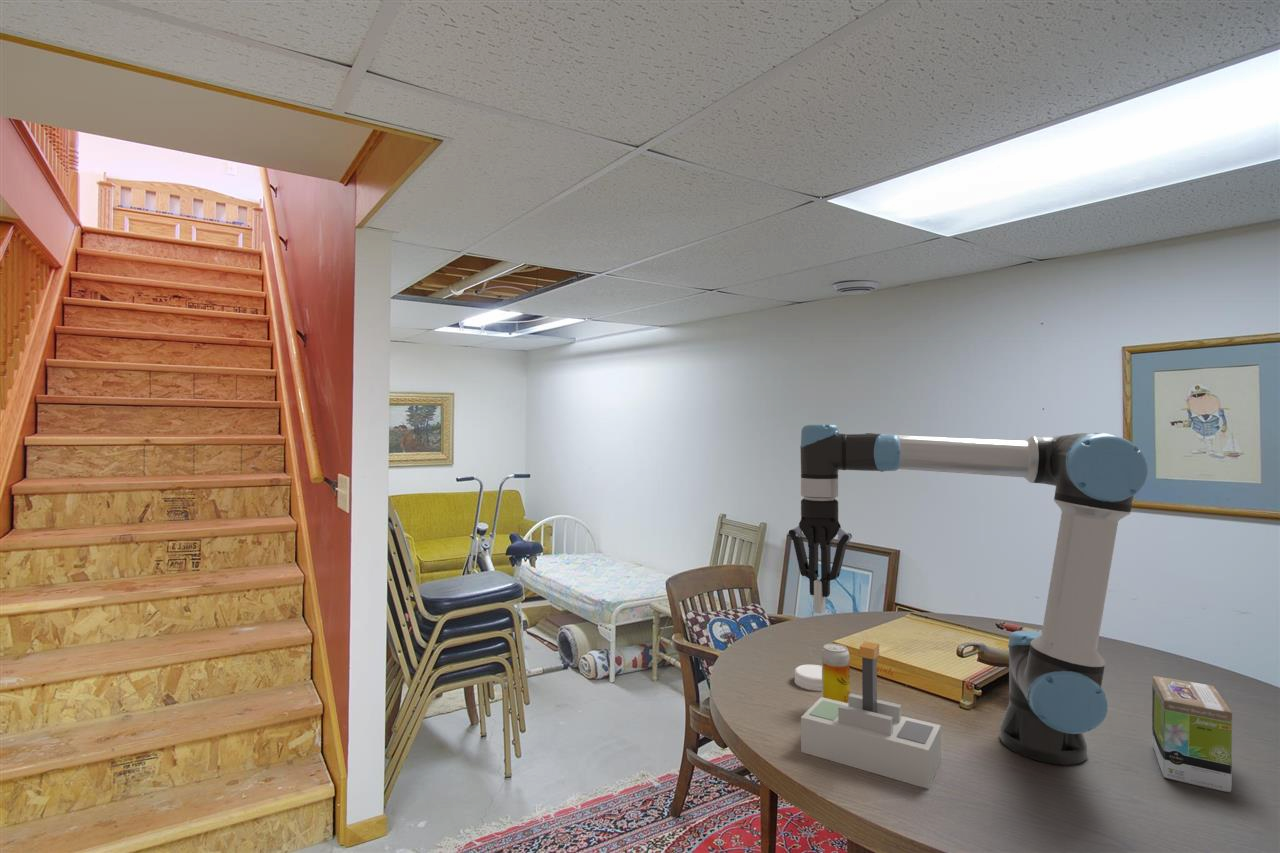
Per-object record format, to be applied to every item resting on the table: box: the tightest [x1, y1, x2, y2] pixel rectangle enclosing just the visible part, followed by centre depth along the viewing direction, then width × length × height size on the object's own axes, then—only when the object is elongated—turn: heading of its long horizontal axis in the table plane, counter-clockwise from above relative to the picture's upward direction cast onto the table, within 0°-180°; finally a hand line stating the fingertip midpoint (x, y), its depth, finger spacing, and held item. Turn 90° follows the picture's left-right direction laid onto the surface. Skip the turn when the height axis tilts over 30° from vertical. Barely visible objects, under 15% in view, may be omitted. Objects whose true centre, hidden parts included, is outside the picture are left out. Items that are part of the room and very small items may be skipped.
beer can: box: [821, 643, 851, 703], centre depth 148 cm, size 6×6×15 cm
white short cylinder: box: [794, 664, 822, 692], centre depth 165 cm, size 10×10×4 cm
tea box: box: [1151, 675, 1233, 793], centre depth 124 cm, size 15×10×15 cm
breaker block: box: [800, 693, 942, 790], centre depth 128 cm, size 24×12×10 cm, turn 55°
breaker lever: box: [859, 641, 880, 713], centre depth 128 cm, size 3×4×14 cm
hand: (819, 611), depth 134 cm, fingers closed
